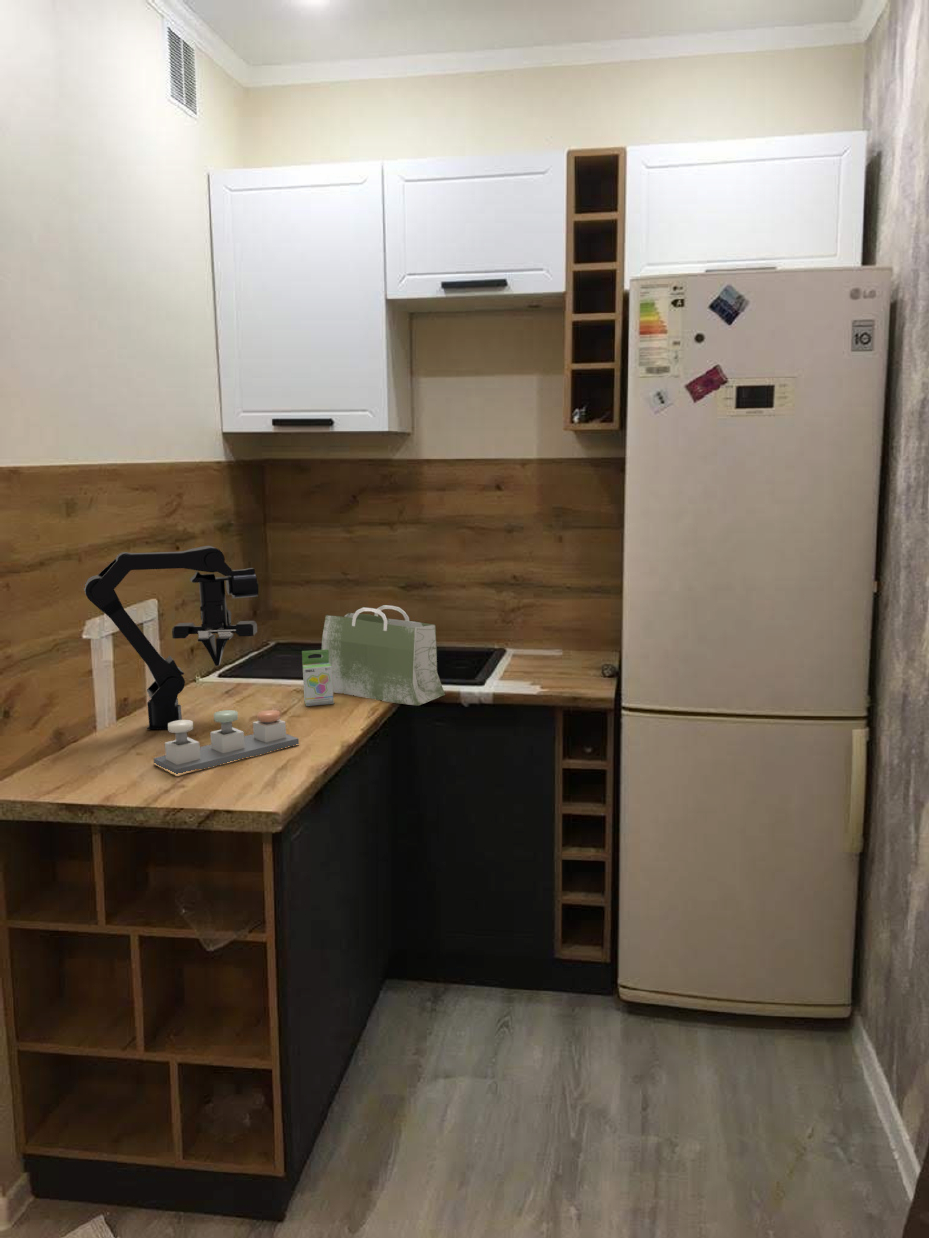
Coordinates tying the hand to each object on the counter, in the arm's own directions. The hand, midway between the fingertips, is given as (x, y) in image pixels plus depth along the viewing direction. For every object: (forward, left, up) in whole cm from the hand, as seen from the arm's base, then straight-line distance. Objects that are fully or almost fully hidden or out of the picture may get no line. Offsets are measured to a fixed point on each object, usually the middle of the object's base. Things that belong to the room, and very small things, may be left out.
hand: (217, 665), depth 222 cm
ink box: (+22, +11, -13) cm, 28 cm away
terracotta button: (+15, -22, -11) cm, 29 cm away
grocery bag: (+37, +20, -13) cm, 45 cm away
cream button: (0, -35, -9) cm, 36 cm away
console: (+7, -28, -13) cm, 32 cm away
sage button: (+7, -29, -9) cm, 31 cm away
